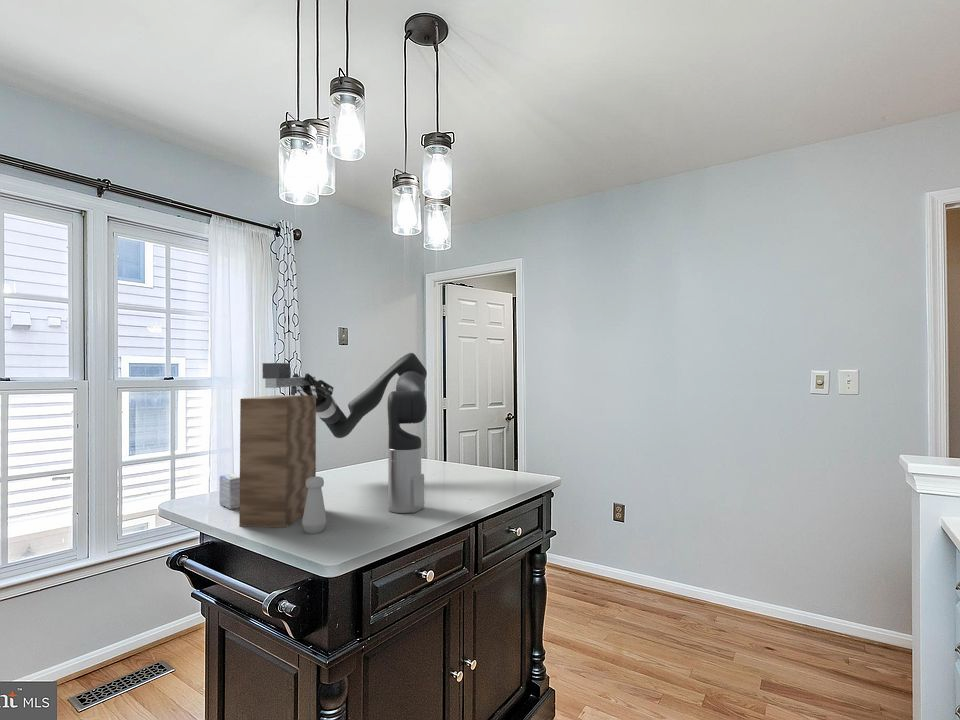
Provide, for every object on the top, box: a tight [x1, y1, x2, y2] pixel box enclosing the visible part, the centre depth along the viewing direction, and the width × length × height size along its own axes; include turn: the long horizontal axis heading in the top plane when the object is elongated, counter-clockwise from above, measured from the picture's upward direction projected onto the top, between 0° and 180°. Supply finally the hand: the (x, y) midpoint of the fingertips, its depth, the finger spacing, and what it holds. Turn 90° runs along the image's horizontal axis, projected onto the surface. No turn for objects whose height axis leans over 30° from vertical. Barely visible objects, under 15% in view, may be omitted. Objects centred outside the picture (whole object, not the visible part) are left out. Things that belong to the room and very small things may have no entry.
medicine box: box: [219, 473, 240, 510], centre depth 148 cm, size 8×4×9 cm, turn 47°
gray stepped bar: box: [262, 362, 316, 389], centre depth 144 cm, size 24×4×6 cm, turn 174°
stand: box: [238, 395, 317, 528], centre depth 137 cm, size 18×12×32 cm, turn 174°
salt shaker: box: [301, 476, 328, 535], centre depth 124 cm, size 6×6×13 cm
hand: (300, 376), depth 149 cm, fingers closed on gray stepped bar, 3 cm apart
